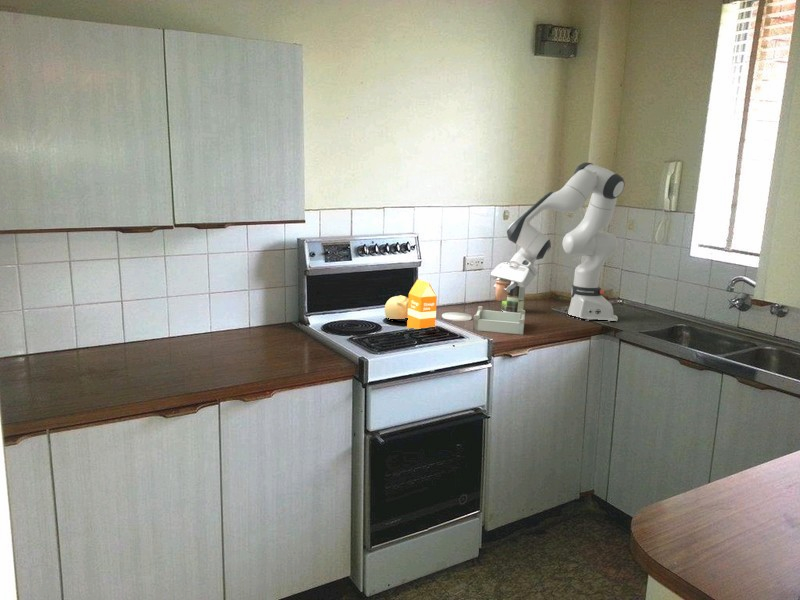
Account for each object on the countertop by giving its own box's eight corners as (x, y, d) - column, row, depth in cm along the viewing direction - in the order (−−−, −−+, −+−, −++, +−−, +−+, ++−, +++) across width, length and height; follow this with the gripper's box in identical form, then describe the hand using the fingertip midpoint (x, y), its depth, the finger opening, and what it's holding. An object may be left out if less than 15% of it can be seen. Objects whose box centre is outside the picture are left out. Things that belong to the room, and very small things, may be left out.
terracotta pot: (508, 299, 282) (509, 280, 281) (507, 301, 277) (509, 282, 275) (494, 297, 283) (495, 279, 282) (493, 300, 278) (494, 281, 276)
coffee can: (507, 314, 307) (509, 283, 305) (497, 309, 317) (499, 279, 314) (527, 313, 311) (530, 283, 308) (517, 309, 320) (519, 279, 317)
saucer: (473, 316, 300) (473, 313, 300) (470, 322, 288) (470, 320, 287) (444, 313, 302) (444, 311, 302) (440, 319, 290) (440, 317, 290)
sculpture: (407, 324, 278) (409, 299, 276) (380, 321, 281) (381, 296, 279) (415, 319, 289) (417, 294, 286) (389, 316, 292) (390, 291, 290)
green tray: (524, 323, 290) (525, 310, 288) (522, 334, 270) (524, 320, 269) (477, 319, 293) (478, 306, 292) (473, 330, 274) (474, 315, 273)
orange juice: (422, 327, 275) (425, 278, 271) (435, 332, 268) (438, 282, 264) (406, 328, 271) (409, 279, 267) (418, 333, 263) (421, 283, 260)
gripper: (499, 256, 289) (480, 280, 285) (533, 263, 272) (513, 289, 269) (506, 266, 292) (487, 289, 289) (540, 274, 276) (521, 299, 272)
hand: (500, 289), depth 279 cm, fingers closed on terracotta pot, 5 cm apart
